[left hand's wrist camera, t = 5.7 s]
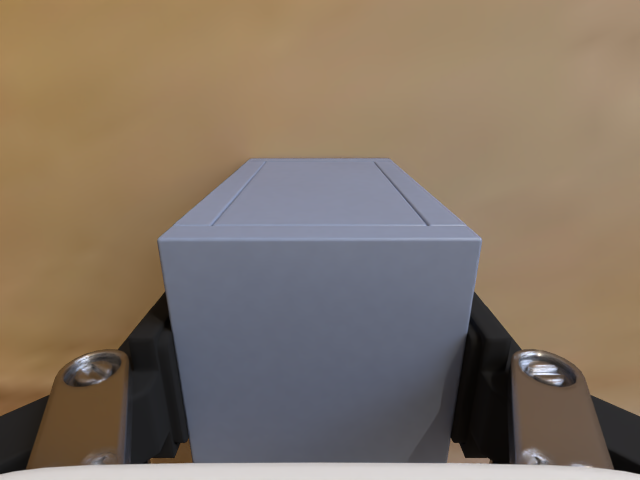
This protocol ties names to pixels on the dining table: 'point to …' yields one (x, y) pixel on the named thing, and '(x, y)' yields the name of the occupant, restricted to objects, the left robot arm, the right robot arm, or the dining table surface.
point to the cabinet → (319, 314)
